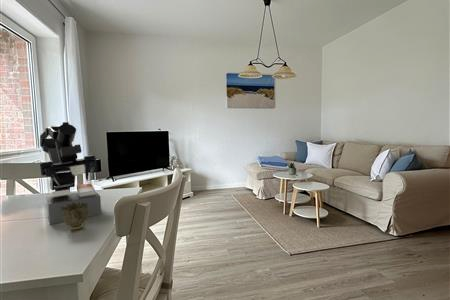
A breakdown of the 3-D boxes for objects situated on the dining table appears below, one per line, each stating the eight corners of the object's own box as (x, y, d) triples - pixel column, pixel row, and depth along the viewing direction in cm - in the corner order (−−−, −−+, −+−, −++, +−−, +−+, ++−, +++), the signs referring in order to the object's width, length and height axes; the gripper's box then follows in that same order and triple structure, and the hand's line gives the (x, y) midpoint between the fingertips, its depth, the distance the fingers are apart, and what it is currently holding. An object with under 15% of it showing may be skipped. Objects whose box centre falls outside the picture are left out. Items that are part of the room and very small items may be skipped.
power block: (47, 215, 93) (46, 196, 93) (94, 206, 103) (93, 189, 102) (49, 224, 84) (48, 203, 83) (101, 213, 93) (100, 195, 93)
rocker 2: (76, 189, 95) (76, 185, 95) (91, 187, 98) (91, 183, 98) (80, 197, 89) (79, 192, 89) (95, 195, 92) (95, 190, 92)
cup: (77, 235, 75) (75, 209, 74) (56, 233, 76) (55, 208, 75) (95, 225, 82) (93, 202, 81) (76, 224, 83) (74, 201, 83)
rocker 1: (51, 197, 90) (51, 191, 91) (67, 194, 94) (67, 189, 94) (53, 198, 84) (52, 192, 84) (70, 195, 87) (69, 189, 87)
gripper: (35, 141, 90) (43, 177, 84) (92, 135, 101) (102, 167, 95) (38, 158, 97) (44, 192, 91) (90, 151, 109) (99, 181, 103)
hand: (74, 182), depth 95 cm, fingers open, 9 cm apart
